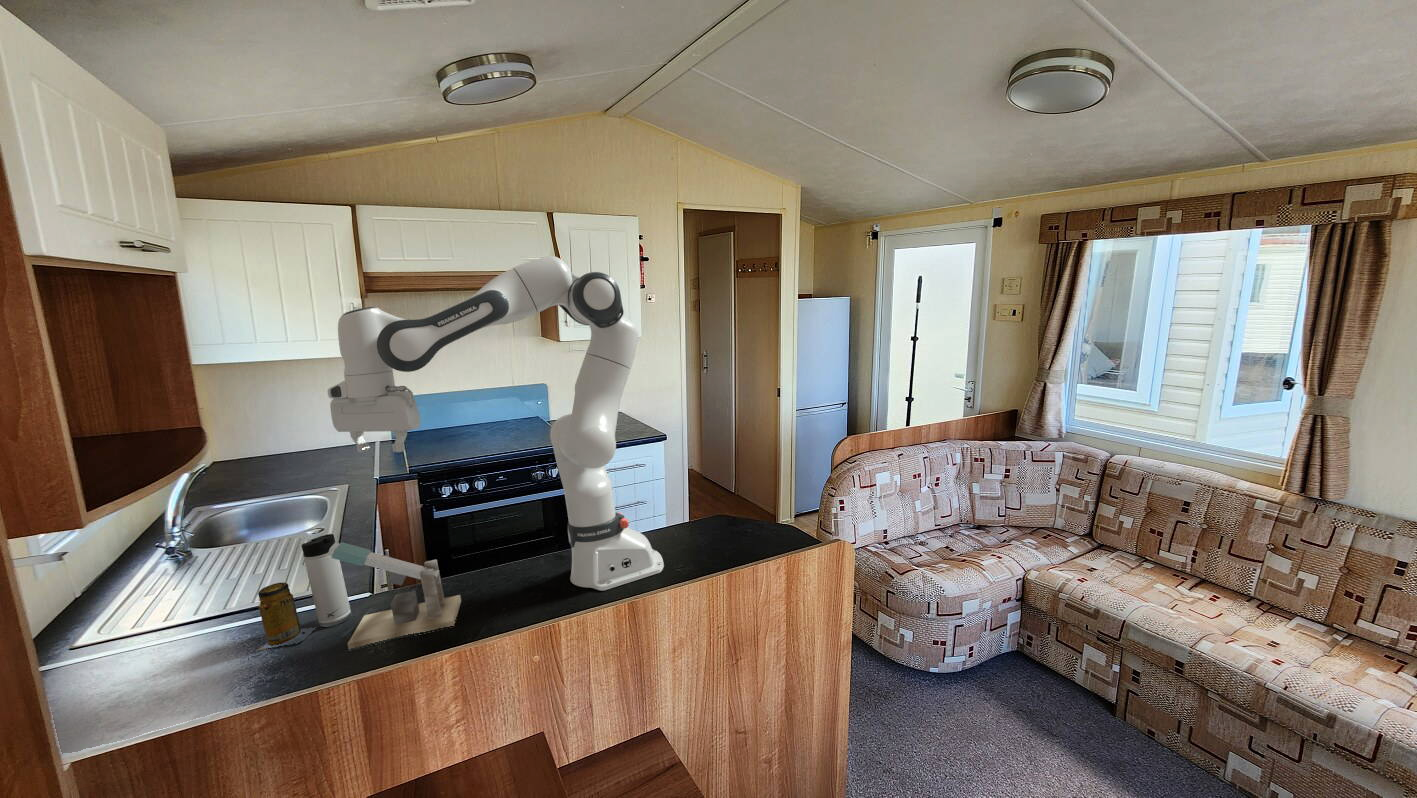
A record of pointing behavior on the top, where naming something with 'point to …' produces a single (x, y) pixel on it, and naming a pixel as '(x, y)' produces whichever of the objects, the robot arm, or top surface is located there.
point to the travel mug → (326, 580)
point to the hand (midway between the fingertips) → (381, 451)
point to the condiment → (278, 614)
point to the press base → (391, 630)
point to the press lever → (377, 562)
